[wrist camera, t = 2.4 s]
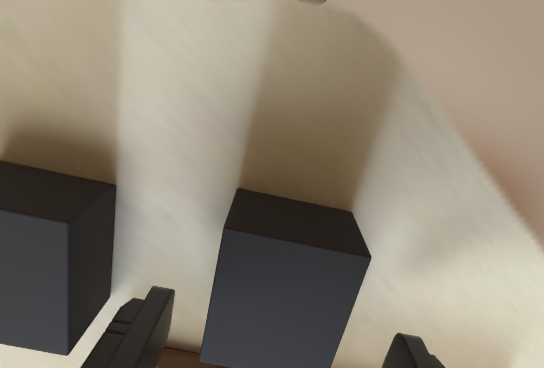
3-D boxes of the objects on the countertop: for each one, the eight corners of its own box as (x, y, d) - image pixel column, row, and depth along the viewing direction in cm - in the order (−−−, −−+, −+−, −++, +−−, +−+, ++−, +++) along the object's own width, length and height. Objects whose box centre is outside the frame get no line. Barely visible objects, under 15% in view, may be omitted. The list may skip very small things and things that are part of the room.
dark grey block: (237, 187, 14) (223, 226, 11) (352, 211, 15) (372, 257, 11) (215, 300, 16) (198, 362, 13) (316, 320, 17) (324, 385, 13)
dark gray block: (-4, 159, 14) (-89, 190, 11) (116, 184, 14) (67, 222, 11) (6, 277, 16) (-64, 333, 13) (110, 297, 17) (68, 357, 13)
